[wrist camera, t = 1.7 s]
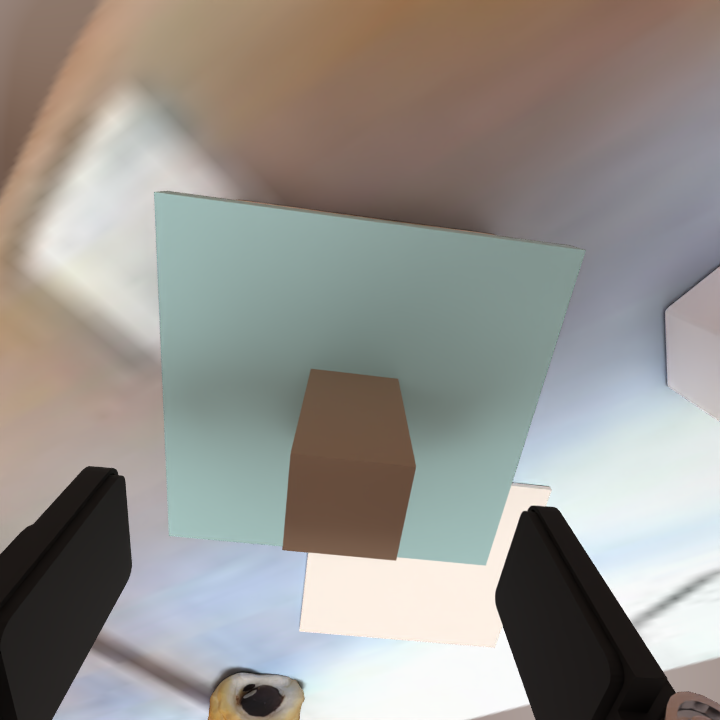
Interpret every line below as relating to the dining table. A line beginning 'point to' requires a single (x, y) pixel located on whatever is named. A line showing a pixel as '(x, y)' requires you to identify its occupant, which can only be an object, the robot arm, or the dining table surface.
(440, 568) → the mat
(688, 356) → the jar
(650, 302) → the dining table surface
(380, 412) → the lid
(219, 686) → the pastry
